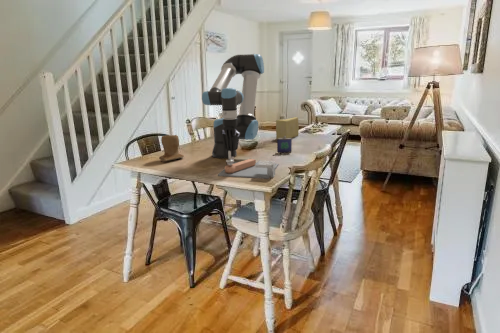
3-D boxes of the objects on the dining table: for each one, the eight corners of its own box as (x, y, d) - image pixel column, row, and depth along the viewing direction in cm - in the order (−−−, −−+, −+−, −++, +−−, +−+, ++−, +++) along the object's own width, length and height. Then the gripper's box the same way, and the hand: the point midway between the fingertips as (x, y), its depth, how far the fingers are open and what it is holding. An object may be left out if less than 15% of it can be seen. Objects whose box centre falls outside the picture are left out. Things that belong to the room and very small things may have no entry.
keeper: (255, 177, 167) (254, 164, 165) (258, 172, 175) (258, 160, 173) (272, 178, 165) (272, 165, 163) (275, 173, 172) (275, 161, 171)
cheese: (292, 135, 277) (293, 116, 273) (302, 136, 271) (303, 117, 267) (275, 139, 262) (275, 119, 258) (285, 140, 255) (285, 120, 251)
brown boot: (174, 155, 216) (173, 132, 212) (186, 158, 208) (185, 134, 204) (154, 160, 205) (151, 135, 201) (165, 163, 197) (163, 137, 193)
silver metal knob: (224, 166, 172) (224, 161, 171) (227, 164, 176) (227, 159, 175) (232, 166, 171) (232, 161, 170) (234, 164, 175) (234, 159, 174)
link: (230, 173, 171) (230, 168, 170) (222, 172, 174) (222, 166, 173) (256, 164, 186) (256, 159, 185) (249, 163, 189) (249, 158, 188)
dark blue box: (291, 151, 220) (291, 135, 217) (292, 152, 217) (292, 135, 214) (276, 152, 219) (276, 135, 216) (277, 153, 216) (277, 136, 213)
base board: (217, 175, 171) (217, 174, 171) (233, 162, 195) (233, 161, 195) (268, 178, 164) (268, 177, 164) (278, 164, 189) (278, 163, 188)
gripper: (215, 118, 180) (217, 162, 186) (234, 120, 172) (235, 165, 178) (225, 116, 186) (227, 159, 192) (243, 118, 177) (245, 162, 183)
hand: (231, 162), depth 185 cm, fingers closed
